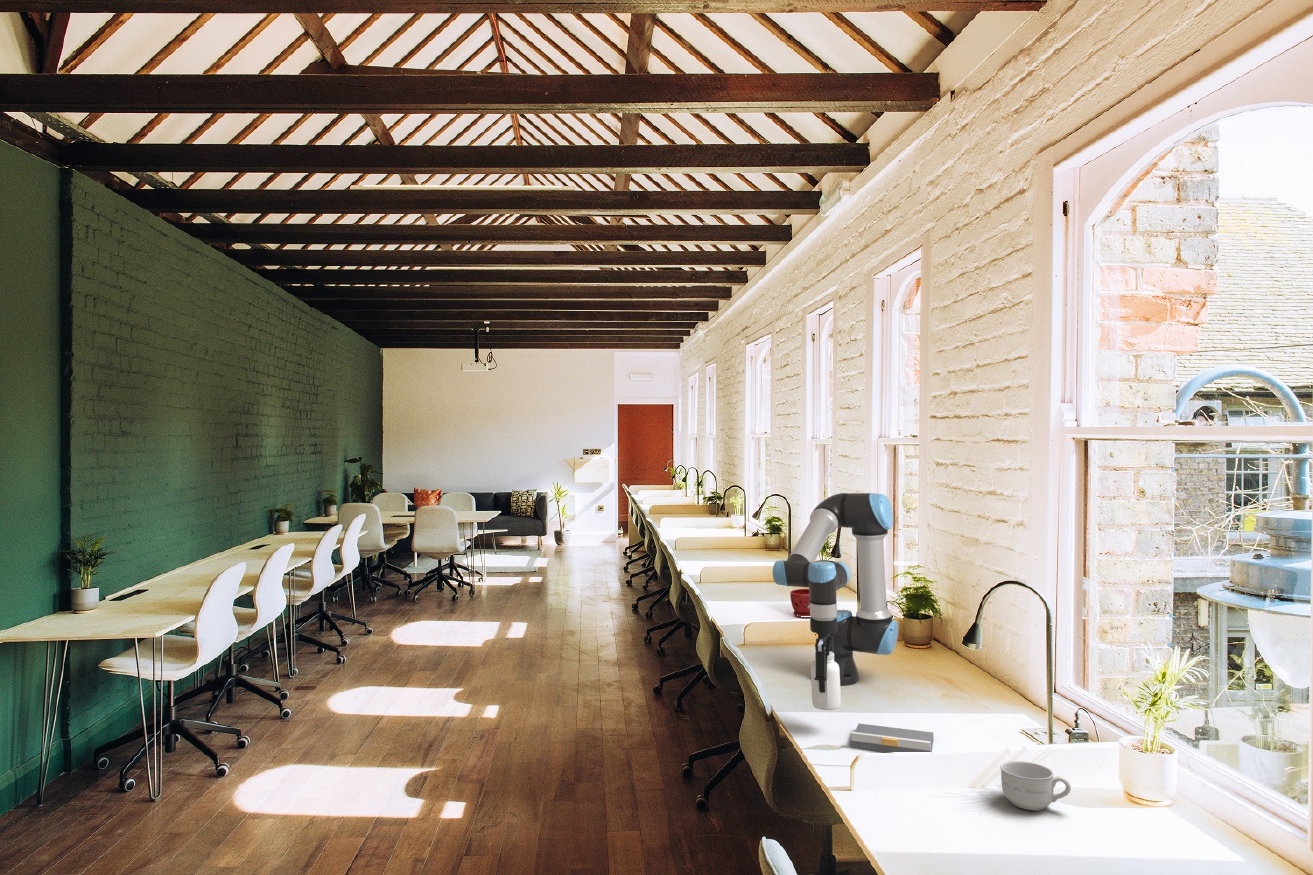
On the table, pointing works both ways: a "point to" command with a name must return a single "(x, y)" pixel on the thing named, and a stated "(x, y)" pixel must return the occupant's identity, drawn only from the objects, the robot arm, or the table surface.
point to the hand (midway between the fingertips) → (826, 697)
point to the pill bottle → (833, 685)
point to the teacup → (1030, 784)
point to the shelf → (891, 739)
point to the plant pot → (800, 602)
